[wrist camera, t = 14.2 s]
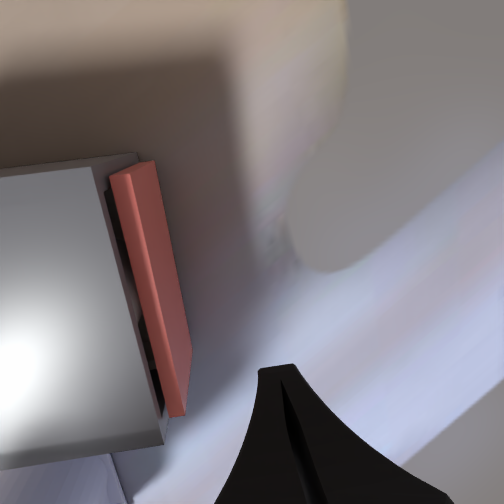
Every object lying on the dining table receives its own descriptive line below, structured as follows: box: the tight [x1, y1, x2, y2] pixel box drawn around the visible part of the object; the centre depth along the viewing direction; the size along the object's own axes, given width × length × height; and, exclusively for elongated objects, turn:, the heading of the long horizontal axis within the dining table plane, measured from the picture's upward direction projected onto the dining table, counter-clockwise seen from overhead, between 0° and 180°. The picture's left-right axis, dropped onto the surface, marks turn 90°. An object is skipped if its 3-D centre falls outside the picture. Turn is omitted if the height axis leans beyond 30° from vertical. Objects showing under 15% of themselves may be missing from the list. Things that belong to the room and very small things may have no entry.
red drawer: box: [103, 161, 193, 418], centre depth 18 cm, size 12×11×6 cm
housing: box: [0, 152, 169, 471], centre depth 18 cm, size 13×11×7 cm
